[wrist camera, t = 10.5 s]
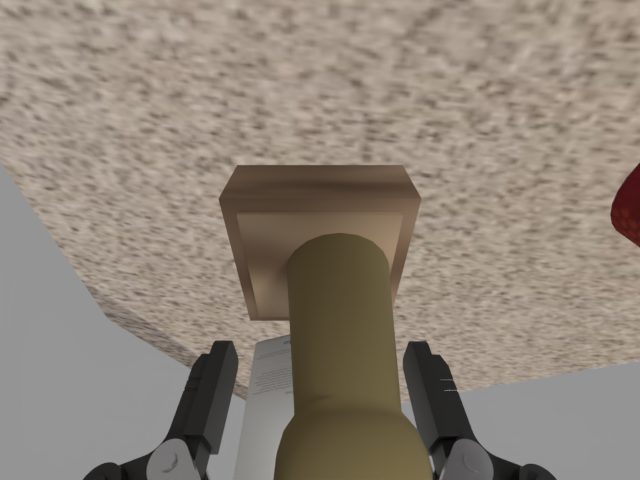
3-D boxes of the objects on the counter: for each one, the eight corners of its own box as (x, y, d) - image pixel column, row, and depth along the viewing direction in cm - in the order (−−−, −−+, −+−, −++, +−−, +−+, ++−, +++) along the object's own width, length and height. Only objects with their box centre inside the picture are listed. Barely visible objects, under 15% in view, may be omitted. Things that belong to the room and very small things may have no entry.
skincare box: (254, 339, 29) (207, 576, 17) (314, 326, 27) (310, 575, 15) (289, 375, 34) (271, 579, 21) (341, 366, 32) (354, 579, 20)
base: (237, 165, 17) (216, 201, 14) (402, 165, 17) (423, 201, 14) (259, 279, 23) (249, 323, 20) (380, 279, 23) (390, 323, 20)
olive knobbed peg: (276, 294, 18) (237, 553, 9) (302, 220, 14) (276, 530, 6) (364, 312, 19) (400, 556, 10) (408, 248, 15) (519, 539, 7)
